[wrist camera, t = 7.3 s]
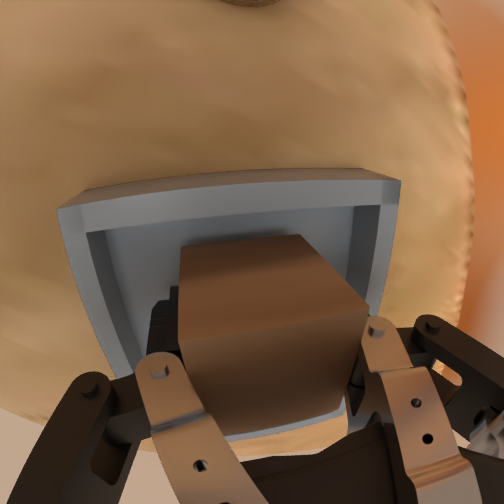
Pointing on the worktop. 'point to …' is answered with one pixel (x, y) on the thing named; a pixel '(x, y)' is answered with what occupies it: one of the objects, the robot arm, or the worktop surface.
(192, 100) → the worktop surface
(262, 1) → the grey rounded cylinder
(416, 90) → the worktop surface
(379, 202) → the parts tray
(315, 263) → the walnut block
